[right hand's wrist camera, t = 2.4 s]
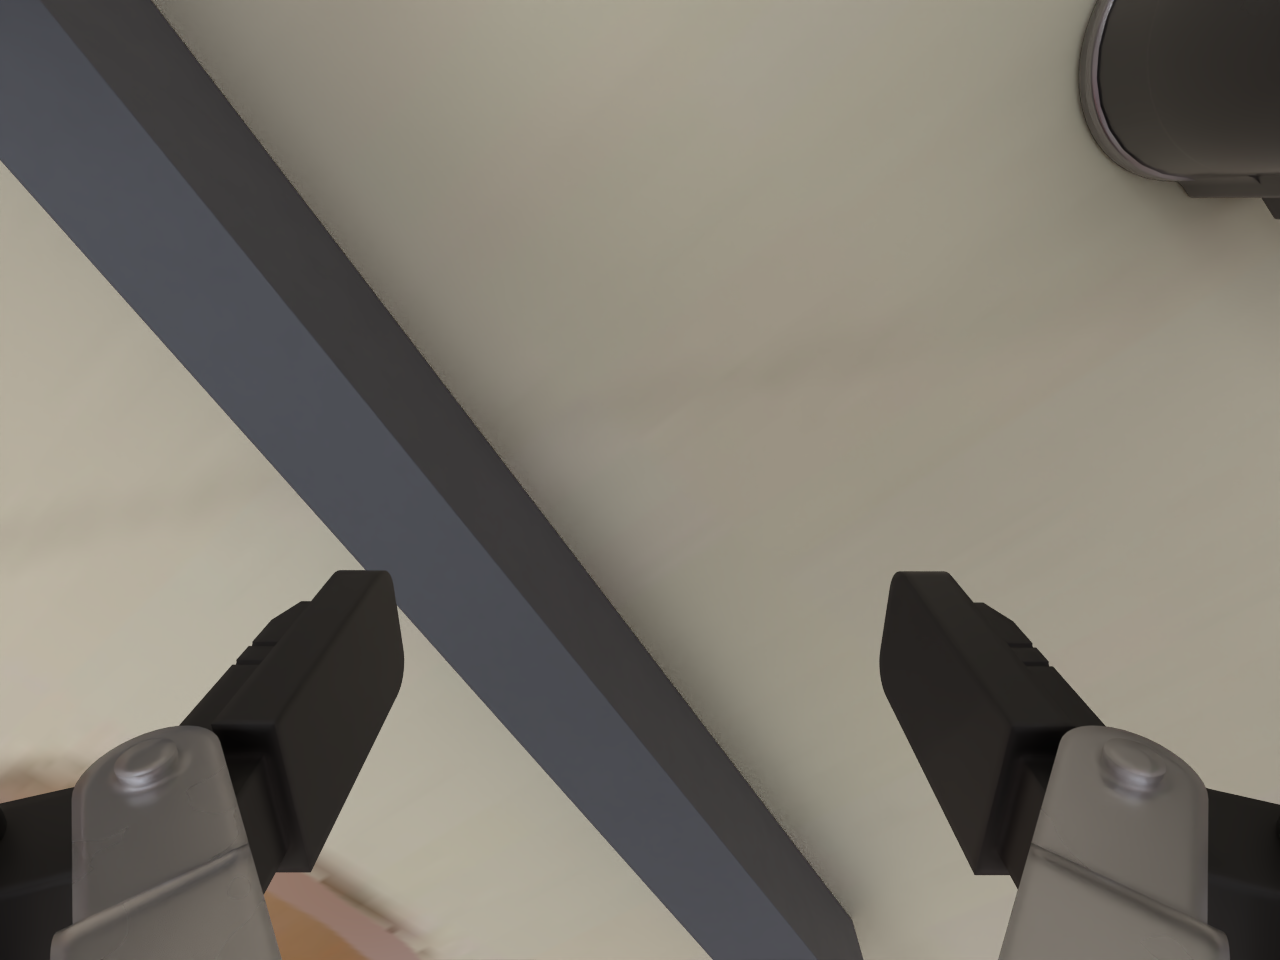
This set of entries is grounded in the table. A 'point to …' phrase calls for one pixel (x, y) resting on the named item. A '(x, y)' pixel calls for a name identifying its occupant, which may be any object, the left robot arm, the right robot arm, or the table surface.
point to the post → (386, 456)
